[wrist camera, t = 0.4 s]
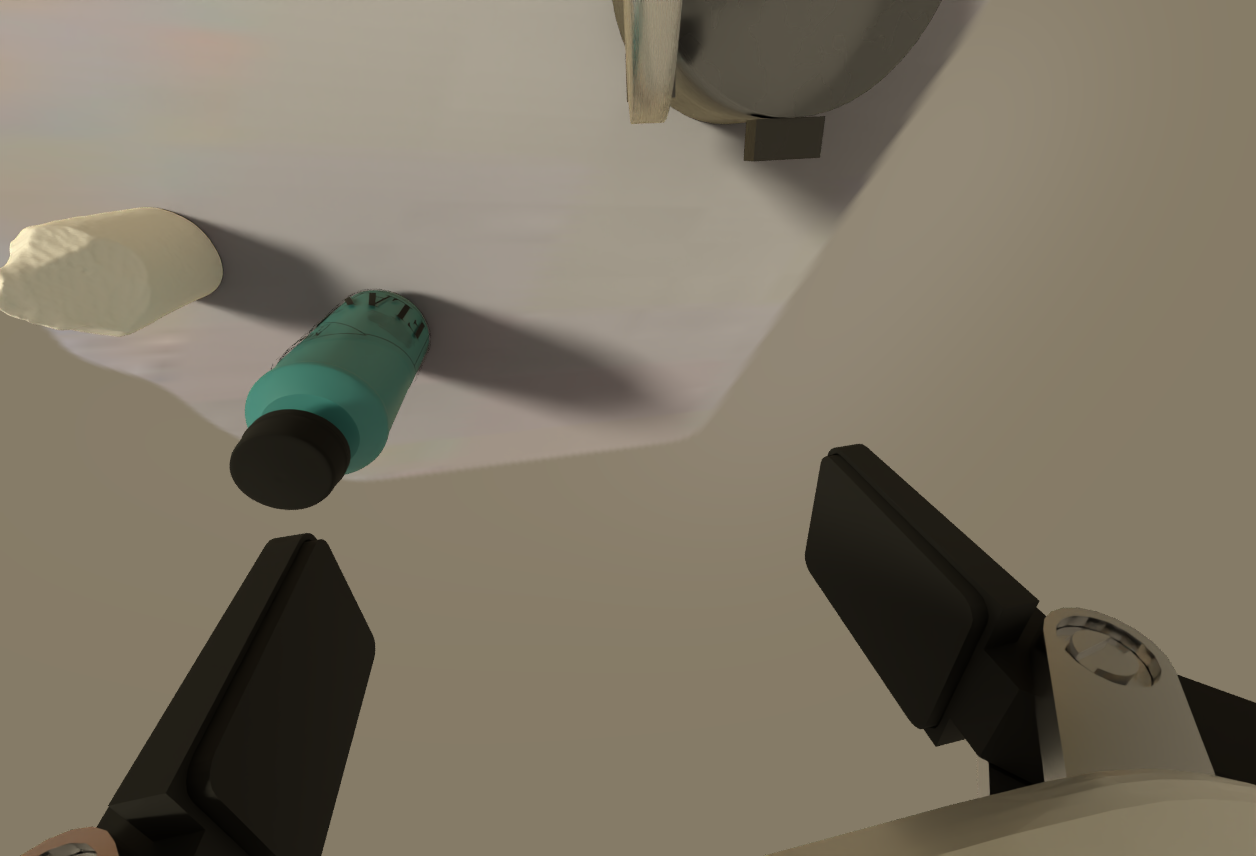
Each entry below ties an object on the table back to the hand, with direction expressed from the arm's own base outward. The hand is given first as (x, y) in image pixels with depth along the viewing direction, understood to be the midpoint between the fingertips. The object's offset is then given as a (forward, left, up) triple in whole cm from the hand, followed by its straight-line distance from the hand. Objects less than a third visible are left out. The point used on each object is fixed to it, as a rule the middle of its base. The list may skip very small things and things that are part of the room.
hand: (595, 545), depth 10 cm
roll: (-1, -24, -32) cm, 40 cm away
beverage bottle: (+5, -12, -32) cm, 34 cm away
